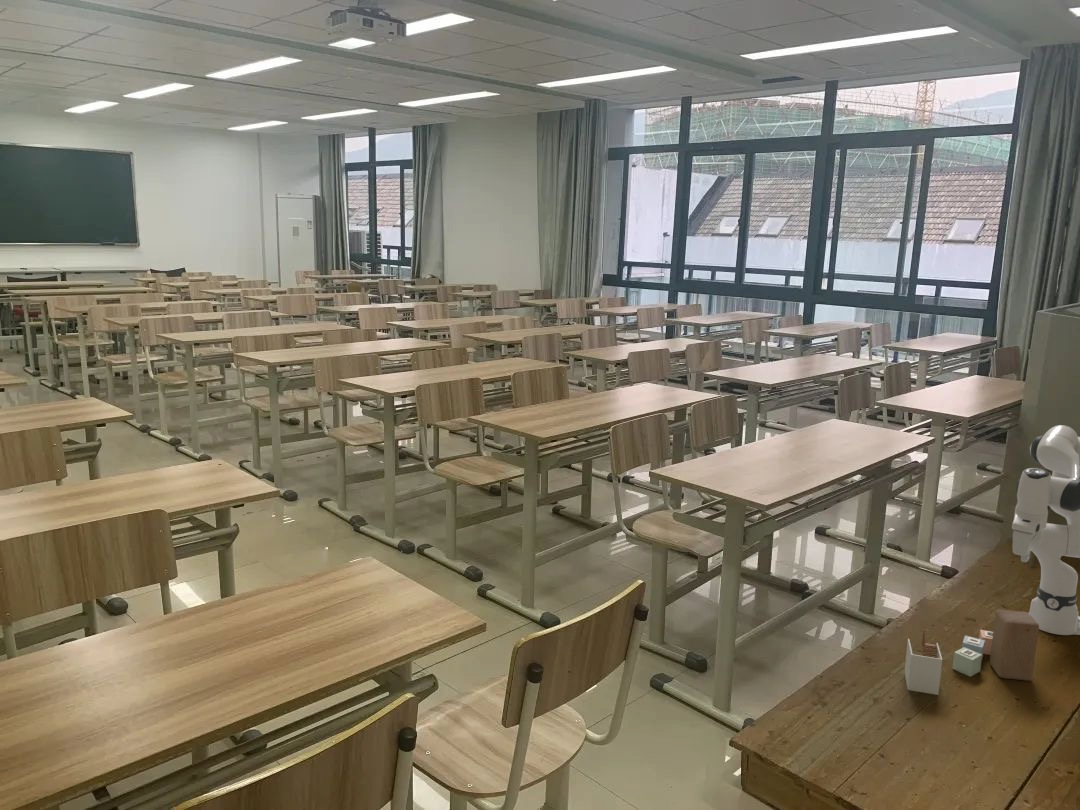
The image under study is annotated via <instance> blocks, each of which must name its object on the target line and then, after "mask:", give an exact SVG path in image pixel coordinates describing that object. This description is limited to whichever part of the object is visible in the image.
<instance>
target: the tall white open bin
mask: <svg viewBox="0 0 1080 810" xmlns="http://www.w3.org/2000/svg"><path fill="white" fill-rule="evenodd" d="M925 630H926V629H924V628H923V631H922V632H923V633H922V641H921V646H922V655H919V654H913V650H912V645H911V642H910V638H907V644H906V655H905V664H904V678H905V681H906V682H905V684H906V687H907V690H908V691H912V692H918V693H919V692H920V693H926V694H930V695H931V694H932V695H936V696H939V695H940V694H939V692H940V685H941V677H942V676H941V674H942V667H943V657H942V653H941V651H940V646H939V643H938V642H936V643H935V644H933V643H932V644H931V643H926V636H925V635H926V634H925V633H926V631H925Z"/></svg>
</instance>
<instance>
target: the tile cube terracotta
mask: <svg viewBox="0 0 1080 810" xmlns="http://www.w3.org/2000/svg"><path fill="white" fill-rule="evenodd" d="M978 637H979V638H978V639H981V640H985V644H984V652H983V655H989V656H990V654H991V646H992V639H993V631H989V630H984V629H980V630H979V636H978Z"/></svg>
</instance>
